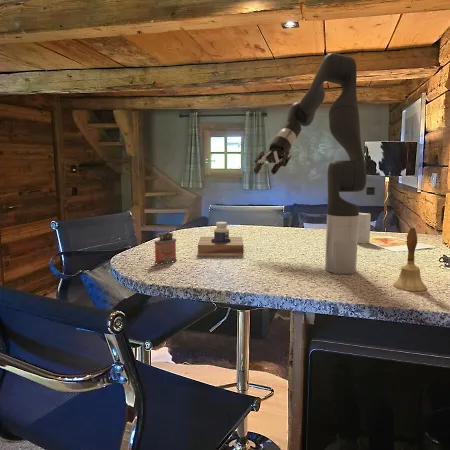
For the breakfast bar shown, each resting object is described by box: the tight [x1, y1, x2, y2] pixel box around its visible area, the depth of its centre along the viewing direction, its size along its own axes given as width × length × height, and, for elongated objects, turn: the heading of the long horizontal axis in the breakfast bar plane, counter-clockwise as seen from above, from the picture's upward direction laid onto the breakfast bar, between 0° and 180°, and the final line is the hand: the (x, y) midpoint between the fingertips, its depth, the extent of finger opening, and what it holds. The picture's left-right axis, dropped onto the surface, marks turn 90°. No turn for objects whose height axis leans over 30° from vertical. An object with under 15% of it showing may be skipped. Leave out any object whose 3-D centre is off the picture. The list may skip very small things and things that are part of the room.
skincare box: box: [357, 212, 372, 245], centre depth 175 cm, size 6×4×12 cm
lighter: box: [153, 231, 177, 265], centre depth 140 cm, size 8×3×10 cm, turn 134°
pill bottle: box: [213, 221, 230, 243], centre depth 157 cm, size 5×5×10 cm
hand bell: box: [392, 227, 428, 292], centre depth 113 cm, size 8×8×16 cm
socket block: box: [197, 236, 245, 257], centre depth 158 cm, size 16×16×4 cm
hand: (263, 172), depth 161 cm, fingers open, 8 cm apart
